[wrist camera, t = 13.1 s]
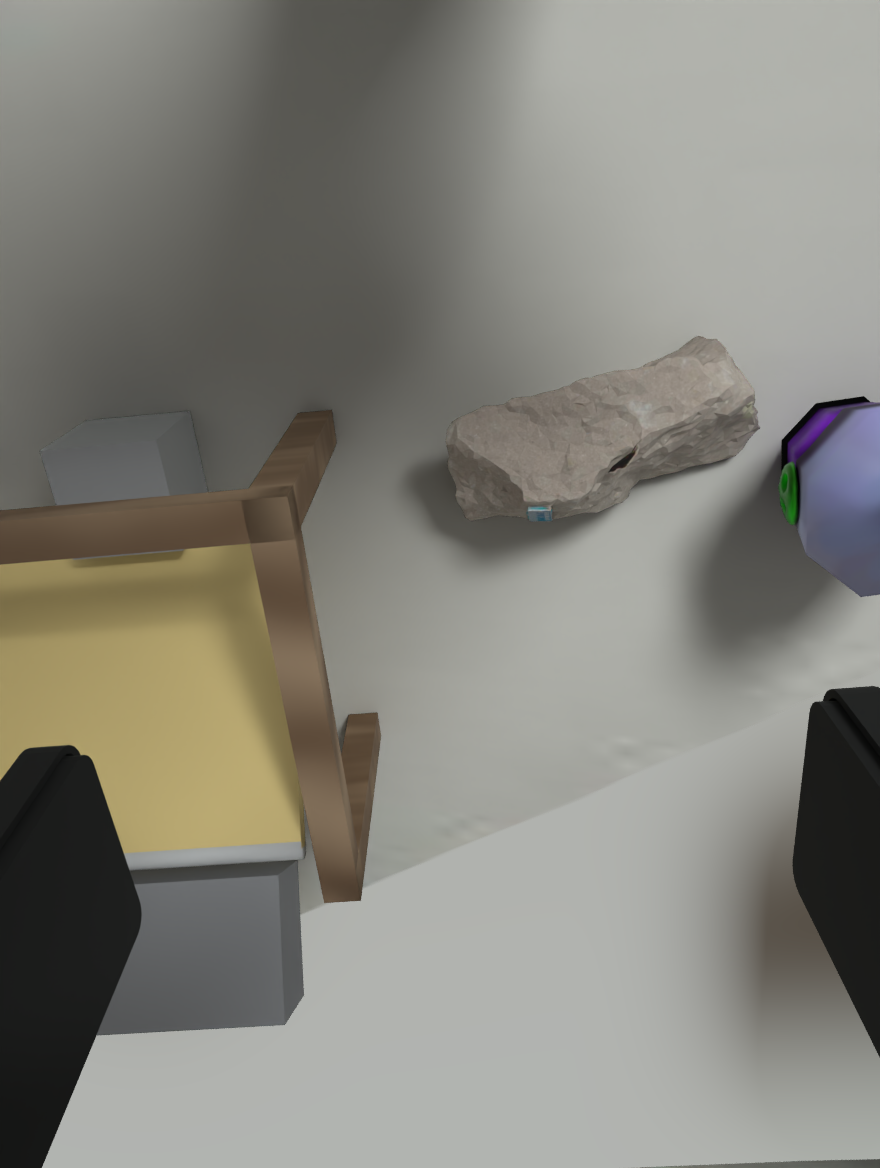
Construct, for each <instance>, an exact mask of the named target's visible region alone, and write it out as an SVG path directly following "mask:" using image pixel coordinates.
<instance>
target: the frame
mask: <svg viewBox="0 0 880 1168" xmlns="http://www.w3.org/2000/svg"><path fill="white" fill-rule="evenodd" d="M336 444H337V441H336V435H335V428H334V421H333V415H332V410H326V411H315V412H304V413H298V414H297V415H296V417H295V418H294V420H293V421H292V423H291V425H290V426H289V428H288V429H287V431H286V432H285V434H284V435H283V437H282V438H281V440H280V441H279V443H278V444H277V446H276V448H275V449H274V451H273V452H272V454H271V455H270V457H269V458H268V460H267V461H266V463H265V464H264V466H263V467H262V469H261V470H260V472H259V474H258V475H257V477H256V478H255V480H254V481H253V483H252V484H251V486H250V487H249V489H241V490H229V491H218V492H206V493H195V494H183V495H172V496H160V497H149V498H138V499H126V500H115V501H103V502H92V503H80V504H69V505H57V506H46V507H35V508H23V509H12V510H0V565H2V564H14V563H26V562H38V561H49V560H61V559H73V558H85V557H97V556H109V555H121V554H133V553H145V552H156V551H168V550H180V549H192V548H204V547H216V546H228V545H240V544H250V546H251V551H252V556H253V561H254V566H255V571H256V575H257V580H258V585H259V590H260V595H261V600H262V604H263V609H264V614H265V619H266V624H267V628H268V633H269V638H270V643H271V648H272V653H273V657H274V662H275V667H276V672H277V677H278V682H279V686H280V691H281V696H282V701H283V706H284V711H285V715H286V720H287V725H288V730H289V735H290V739H291V744H292V749H293V754H294V759H295V764H296V768H297V773H298V778H299V783H300V788H301V793H302V797H303V802H304V807H305V812H306V817H307V822H308V826H309V831H310V836H311V841H312V846H313V850H314V855H315V860H316V865H317V870H318V875H319V879H320V884H321V889H322V894H323V899H324V903H331V902H347V901H360V900H361V895H362V887H363V879H364V871H365V862H366V854H367V846H368V838H369V830H370V822H371V813H372V805H373V797H374V789H375V781H376V773H377V764H378V756H379V748H380V740H381V733H380V727H379V720H378V713H365V714H351V715H349V716H348V722H347V727H346V732H345V738H344V743H343V748H342V754H341V751H340V745H339V740H338V734H337V729H336V723H335V717H334V712H333V706H332V700H331V695H330V689H329V683H328V678H327V672H326V667H325V661H324V655H323V650H322V644H321V638H320V633H319V627H318V621H317V616H316V610H315V605H314V599H313V593H312V588H311V582H310V576H309V571H308V565H307V559H306V554H305V548H304V543H303V537H302V531H301V525H302V523H303V521H304V518H305V516H306V514H307V511H308V509H309V507H310V504H311V502H312V500H313V497H314V495H315V493H316V490H317V488H318V486H319V483H320V481H321V479H322V476H323V474H324V472H325V469H326V467H327V465H328V462H329V460H330V458H331V455H332V453H333V451H334V448H335V446H336Z"/></svg>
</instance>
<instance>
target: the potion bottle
mask: <svg viewBox="0 0 880 1168" xmlns="http://www.w3.org/2000/svg"><path fill="white" fill-rule="evenodd" d="M778 489H779V493H780V505H781V508H782V511H783V514H784V516H785V518H786V520H787V522H788V523H789V524H791V525H796V527H797V530H798V533H799V535H800V538H801V541H802V544H803V547H804V550H805V553H806V555H807V556H809V557H810V558H811V559H813V560H814V561H815V562H816V563H818V564H819V565H820V566H822V567H823V568H824V569H825V570H827V571H828V572H829V573H831V574H832V575H833V576H834V577H836V578H837V579H838V580H840V581H841V582H842V583H844V584H845V585H846V586H847V587H849V588H850V589H851V590H853V591H854V592H855V593H856V594H858V595H859V596H860V597H864V596H871V595H879V594H880V403H874V402H870V401H869V400H868V399H866V398H865V397H864V396H863V397H856V398H850V399H843V400H836V401H829V402H823V403H816V404H815V405H814V406H813V407H812V408H811V410H810V411H809V412H808V413H807V414H806V415H805V416H804V417H803V418H802V419H801V420H800V421H799V422H798V424H797V425H796V426H795V427H794V428H793V429H792V430H791V431H790V432H789V433H788V434H787V435H786V436H785V437H784V439H783V440H782V469H781V477H780V483H779V486H778Z"/></svg>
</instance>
